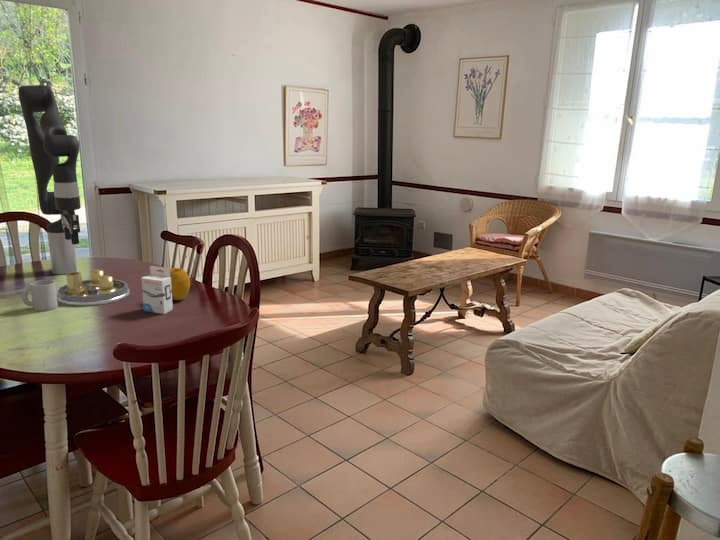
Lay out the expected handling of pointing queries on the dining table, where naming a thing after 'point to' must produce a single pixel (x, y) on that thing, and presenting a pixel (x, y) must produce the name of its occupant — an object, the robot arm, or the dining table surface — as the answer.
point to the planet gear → (75, 284)
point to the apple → (179, 283)
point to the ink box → (157, 291)
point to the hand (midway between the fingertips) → (72, 241)
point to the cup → (41, 295)
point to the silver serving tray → (96, 291)
